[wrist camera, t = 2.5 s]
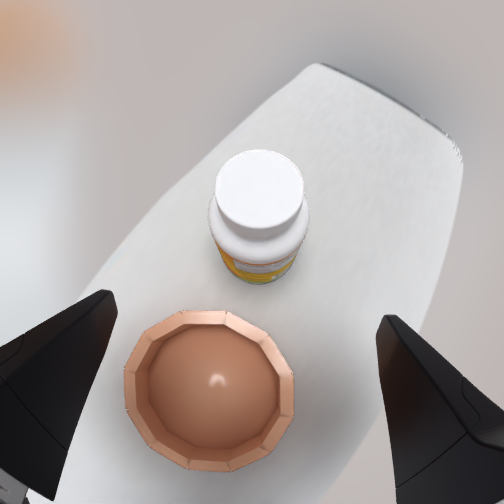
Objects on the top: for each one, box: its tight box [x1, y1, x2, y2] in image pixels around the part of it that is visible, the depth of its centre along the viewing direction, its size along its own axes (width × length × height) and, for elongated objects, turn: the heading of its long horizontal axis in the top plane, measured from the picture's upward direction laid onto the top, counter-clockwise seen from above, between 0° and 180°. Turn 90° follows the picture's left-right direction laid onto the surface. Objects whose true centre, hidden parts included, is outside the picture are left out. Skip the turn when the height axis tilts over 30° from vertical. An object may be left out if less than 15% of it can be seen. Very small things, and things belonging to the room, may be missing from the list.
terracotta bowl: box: [124, 311, 294, 472], centre depth 18 cm, size 11×11×3 cm
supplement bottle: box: [208, 149, 310, 284], centre depth 18 cm, size 5×5×10 cm
